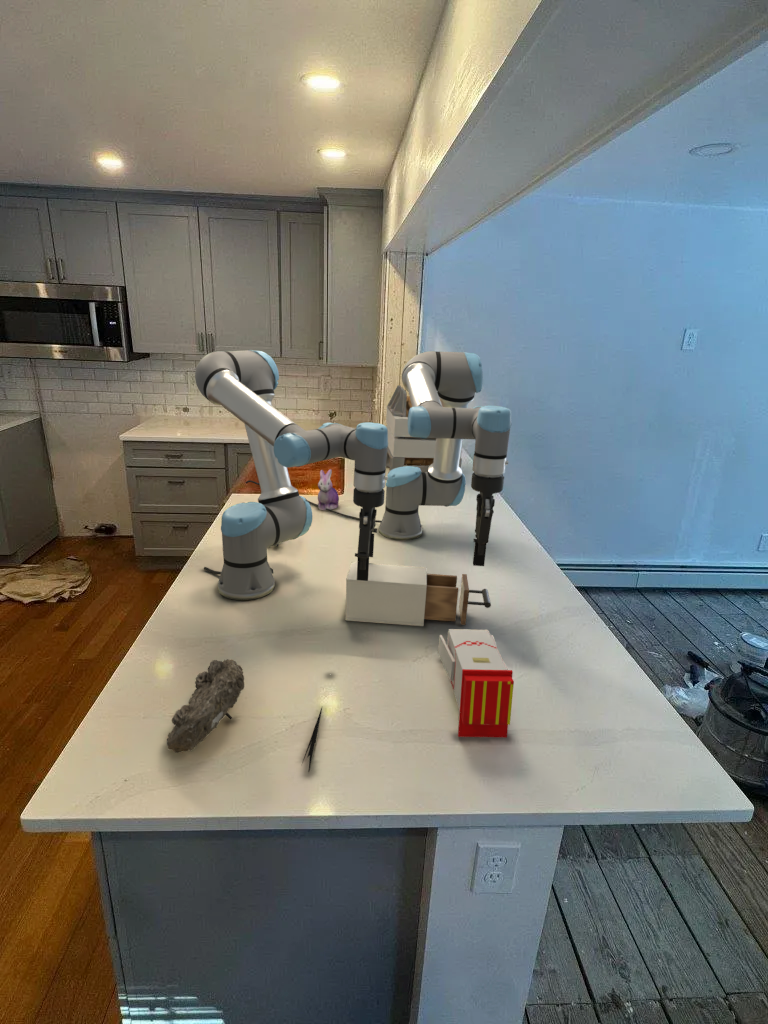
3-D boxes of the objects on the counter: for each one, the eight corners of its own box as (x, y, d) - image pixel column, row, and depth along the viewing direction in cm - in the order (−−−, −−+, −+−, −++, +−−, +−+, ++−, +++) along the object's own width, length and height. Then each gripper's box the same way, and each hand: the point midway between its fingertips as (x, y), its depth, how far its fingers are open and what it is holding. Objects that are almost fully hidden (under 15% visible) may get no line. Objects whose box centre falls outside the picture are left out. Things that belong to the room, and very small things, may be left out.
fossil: (192, 660, 117) (244, 628, 112) (224, 691, 120) (276, 661, 115) (142, 746, 98) (202, 712, 93) (182, 779, 101) (242, 748, 96)
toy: (488, 613, 130) (523, 677, 101) (484, 667, 133) (517, 744, 104) (435, 612, 130) (455, 676, 101) (432, 666, 133) (451, 743, 103)
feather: (331, 679, 122) (336, 673, 122) (307, 777, 96) (313, 769, 95) (324, 675, 122) (329, 669, 121) (298, 772, 95) (304, 764, 95)
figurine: (321, 512, 217) (321, 474, 212) (311, 504, 225) (311, 467, 220) (344, 509, 221) (344, 472, 216) (333, 501, 229) (334, 465, 224)
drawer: (485, 609, 150) (489, 575, 147) (488, 626, 142) (493, 591, 138) (393, 602, 151) (395, 569, 148) (391, 619, 143) (393, 584, 140)
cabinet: (423, 606, 152) (426, 567, 148) (423, 626, 142) (426, 584, 138) (350, 601, 153) (351, 561, 149) (345, 620, 143) (346, 579, 139)
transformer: (382, 463, 289) (386, 382, 275) (445, 464, 293) (451, 384, 279) (390, 482, 257) (394, 392, 243) (460, 483, 261) (468, 394, 247)
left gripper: (380, 506, 124) (375, 592, 132) (388, 474, 148) (383, 548, 155) (346, 504, 125) (343, 589, 132) (359, 472, 148) (356, 546, 156)
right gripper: (508, 482, 127) (496, 577, 135) (501, 467, 139) (490, 555, 147) (474, 480, 127) (464, 575, 135) (470, 465, 139) (461, 553, 147)
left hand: (365, 567), depth 144 cm, fingers open, 13 cm apart
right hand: (478, 564), depth 141 cm, fingers closed
